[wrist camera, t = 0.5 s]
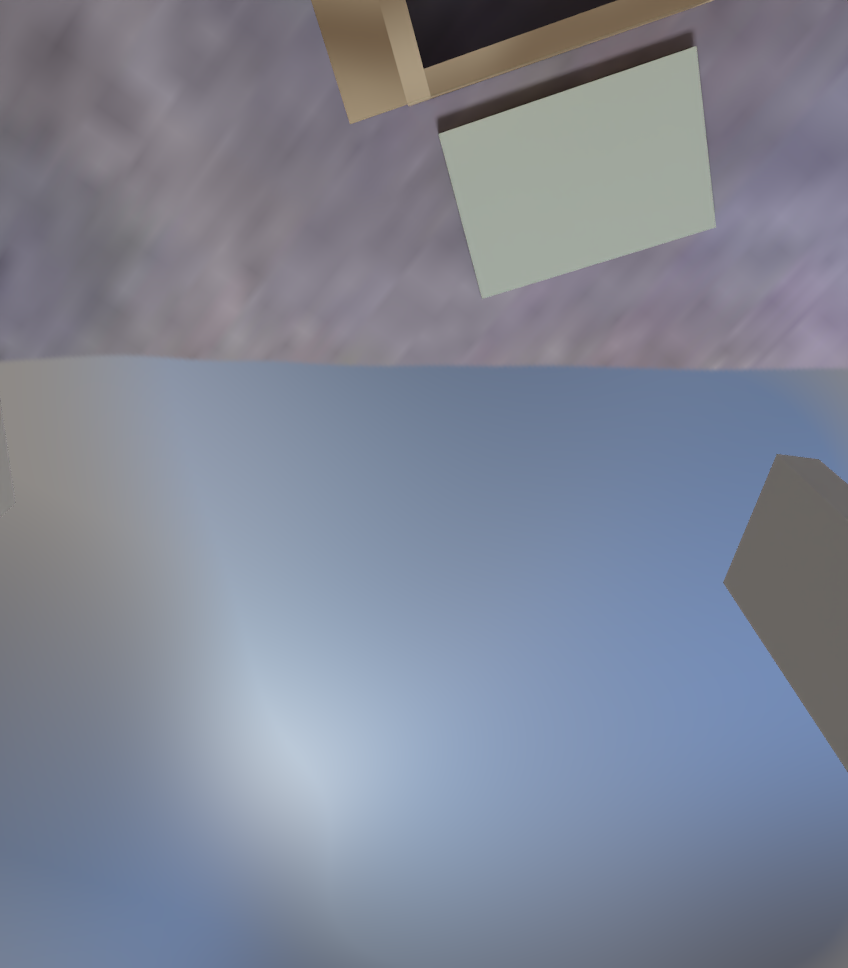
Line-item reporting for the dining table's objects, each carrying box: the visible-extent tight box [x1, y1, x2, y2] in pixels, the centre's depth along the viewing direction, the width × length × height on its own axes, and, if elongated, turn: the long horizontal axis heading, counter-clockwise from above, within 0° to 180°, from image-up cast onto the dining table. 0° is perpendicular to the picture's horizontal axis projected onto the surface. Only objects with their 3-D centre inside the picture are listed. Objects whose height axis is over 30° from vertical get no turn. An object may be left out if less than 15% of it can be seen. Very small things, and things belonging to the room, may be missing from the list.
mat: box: [438, 46, 716, 299], centre depth 34 cm, size 8×12×1 cm, turn 107°
